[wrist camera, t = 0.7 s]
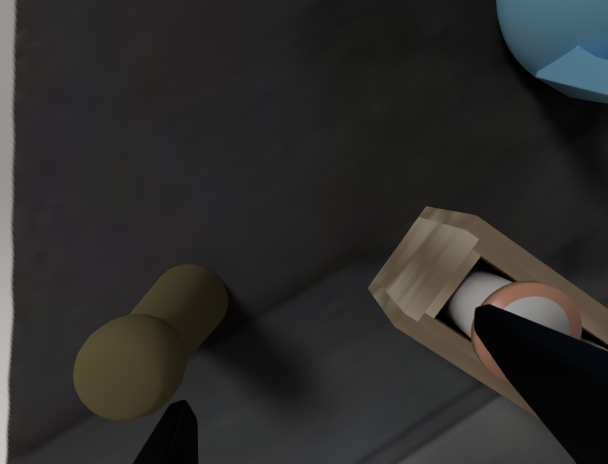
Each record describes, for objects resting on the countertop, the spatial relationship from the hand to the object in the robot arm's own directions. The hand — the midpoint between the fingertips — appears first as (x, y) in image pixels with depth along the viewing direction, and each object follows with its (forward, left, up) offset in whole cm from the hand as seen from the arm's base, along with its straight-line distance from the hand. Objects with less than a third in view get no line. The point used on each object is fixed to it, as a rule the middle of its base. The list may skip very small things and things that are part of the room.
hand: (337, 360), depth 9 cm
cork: (-6, +9, -16) cm, 19 cm away
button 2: (0, -10, -11) cm, 15 cm away
